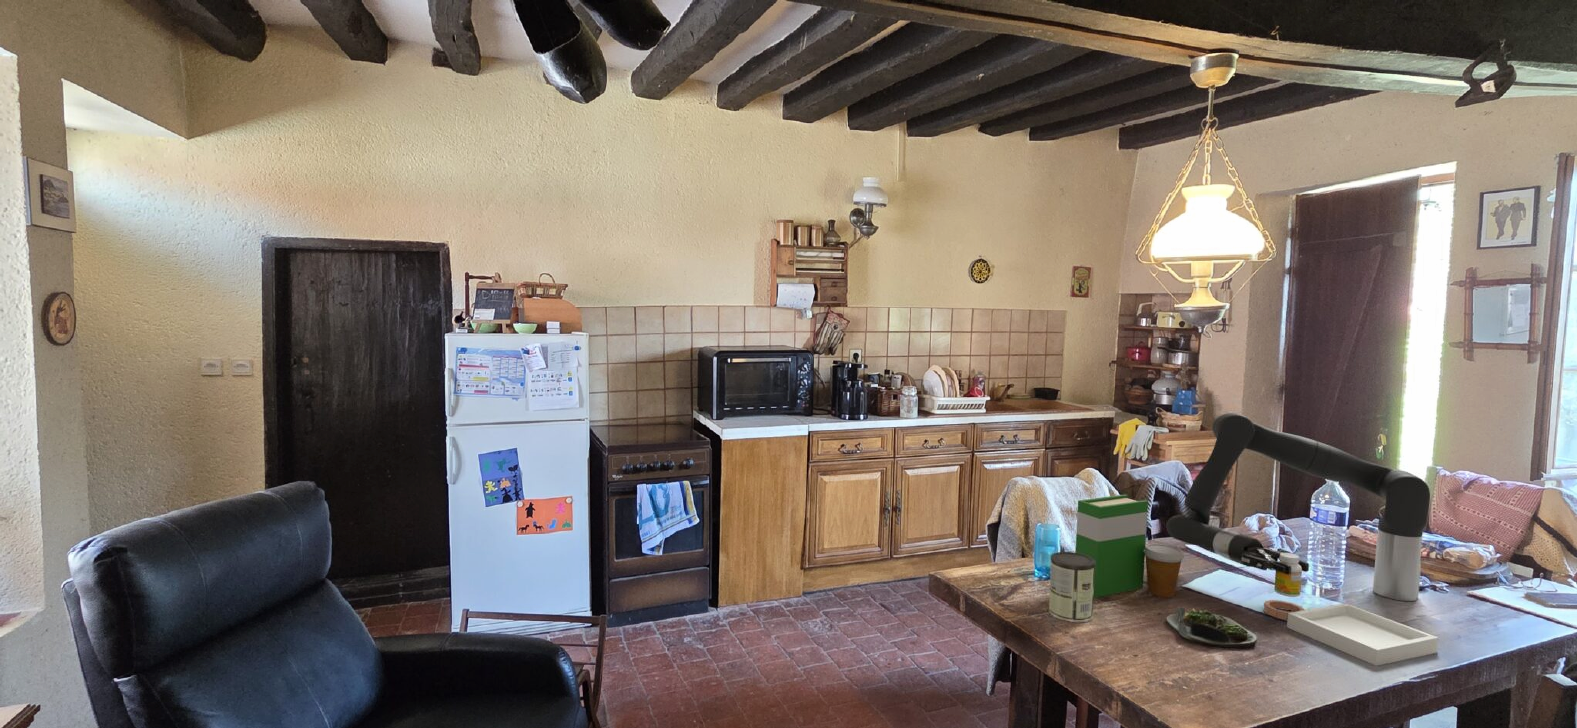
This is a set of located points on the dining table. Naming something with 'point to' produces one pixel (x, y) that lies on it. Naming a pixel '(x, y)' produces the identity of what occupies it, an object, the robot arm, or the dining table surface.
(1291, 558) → the supplement bottle
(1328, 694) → the dining table surface
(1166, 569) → the disposable coffee cup
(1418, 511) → the robot arm
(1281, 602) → the cup holder
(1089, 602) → the coffee can
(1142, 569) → the hardback book
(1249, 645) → the salad plate
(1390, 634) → the tray
